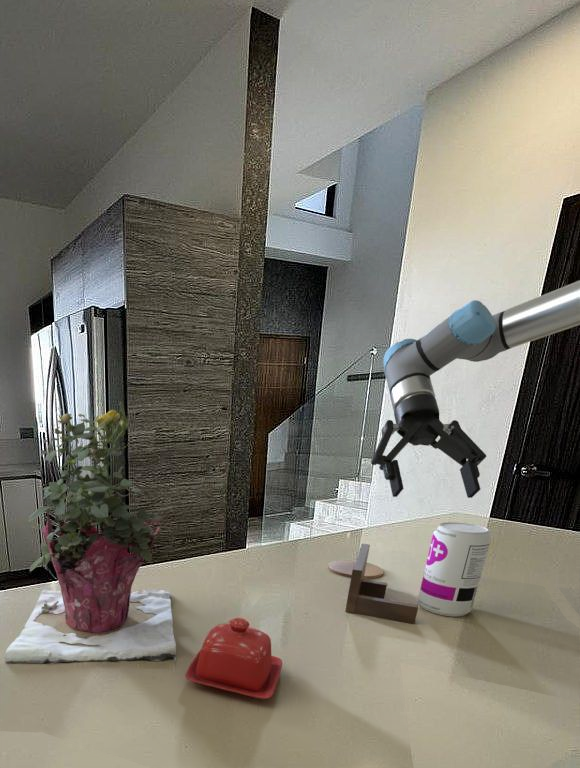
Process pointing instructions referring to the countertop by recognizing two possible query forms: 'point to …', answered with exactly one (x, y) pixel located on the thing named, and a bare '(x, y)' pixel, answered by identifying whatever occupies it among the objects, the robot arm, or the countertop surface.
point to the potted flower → (95, 562)
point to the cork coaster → (347, 566)
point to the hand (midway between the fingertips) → (435, 493)
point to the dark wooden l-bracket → (374, 595)
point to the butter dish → (237, 661)
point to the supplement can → (454, 568)
